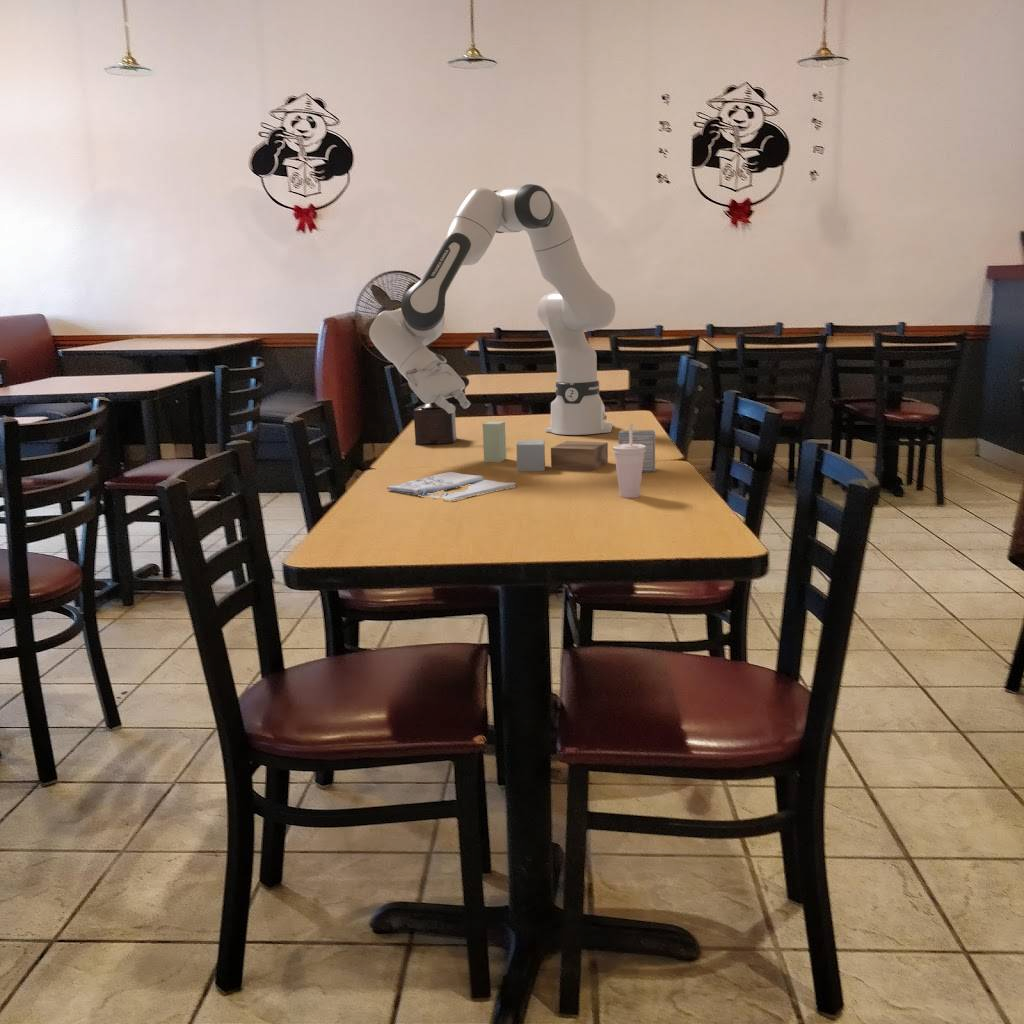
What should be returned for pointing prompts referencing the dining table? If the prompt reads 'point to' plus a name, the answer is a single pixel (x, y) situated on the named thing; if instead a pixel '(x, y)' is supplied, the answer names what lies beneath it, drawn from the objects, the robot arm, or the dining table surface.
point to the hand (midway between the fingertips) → (460, 409)
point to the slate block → (531, 455)
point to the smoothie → (629, 467)
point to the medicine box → (645, 439)
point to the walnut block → (579, 455)
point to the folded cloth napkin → (449, 485)
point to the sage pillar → (494, 441)
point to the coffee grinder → (435, 423)
